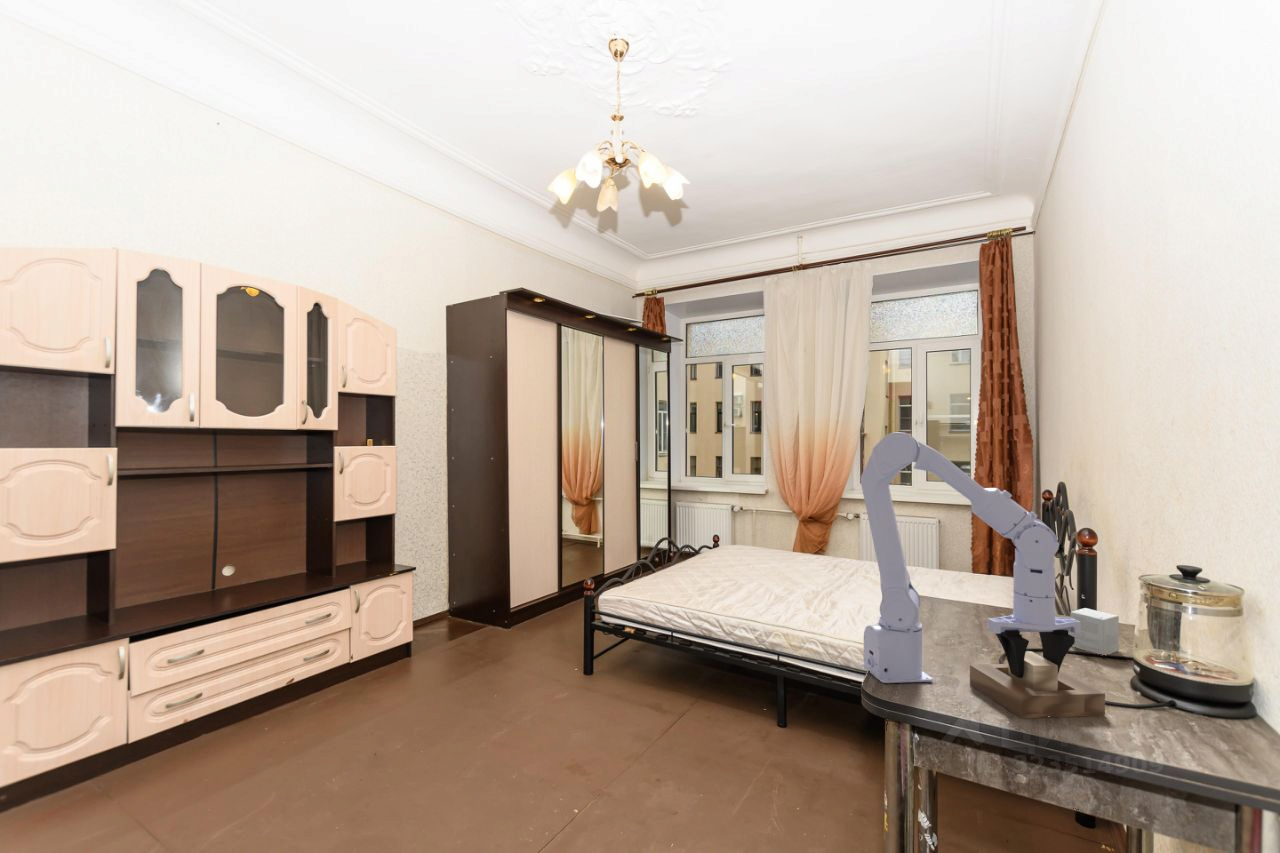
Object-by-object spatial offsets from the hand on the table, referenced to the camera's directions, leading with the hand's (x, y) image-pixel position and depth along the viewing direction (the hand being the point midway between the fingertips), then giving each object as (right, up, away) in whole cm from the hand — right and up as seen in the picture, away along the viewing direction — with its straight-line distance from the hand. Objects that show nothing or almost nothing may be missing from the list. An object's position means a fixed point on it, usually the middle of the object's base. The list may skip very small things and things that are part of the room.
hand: (1033, 675), depth 95 cm
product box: (+28, -5, +23) cm, 36 cm away
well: (0, -4, 0) cm, 4 cm away
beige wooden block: (0, -3, 0) cm, 3 cm away
